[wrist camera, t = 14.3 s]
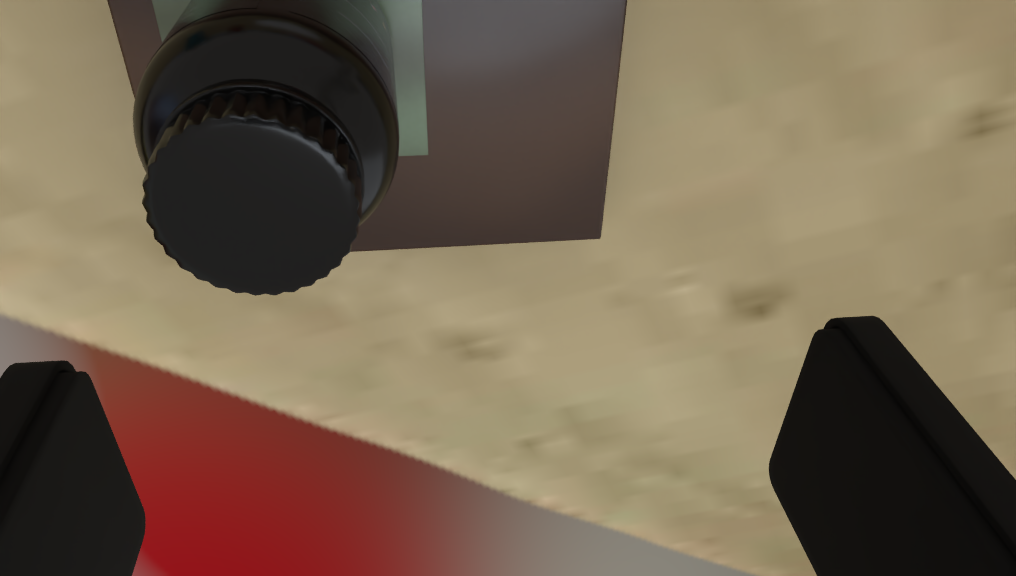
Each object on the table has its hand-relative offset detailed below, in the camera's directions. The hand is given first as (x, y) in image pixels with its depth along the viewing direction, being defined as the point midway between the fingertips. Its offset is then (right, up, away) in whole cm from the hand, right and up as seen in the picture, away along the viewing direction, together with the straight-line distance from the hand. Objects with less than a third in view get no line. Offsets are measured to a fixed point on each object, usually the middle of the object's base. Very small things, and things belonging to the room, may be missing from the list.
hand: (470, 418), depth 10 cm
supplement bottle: (-7, +11, +17) cm, 21 cm away
